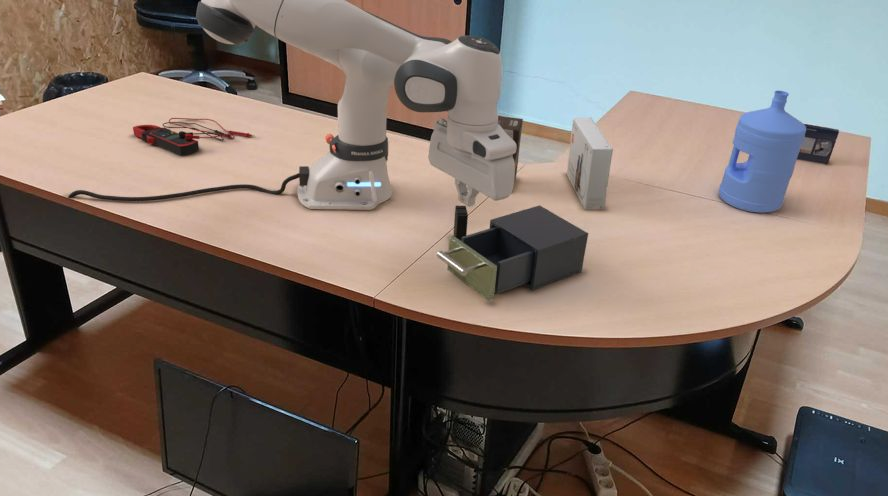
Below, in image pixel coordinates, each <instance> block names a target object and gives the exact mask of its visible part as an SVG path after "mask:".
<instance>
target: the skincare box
mask: <svg viewBox="0 0 888 496" xmlns="http://www.w3.org/2000/svg"><path fill="white" fill-rule="evenodd" d="M613 151H614V148H613V146H612V145H611V144H610V142H609V141H608V140H607V137H606V136H605V135H604V133H603V132H602V130H601V129H600V128H599V127H598V125H597V123H596V122H595V121H594V118H592V117H591V116H590V117H573V118H572V125H571V133H570V141H569V150H568V159H567V166H566V167H567V168H566V176H567V178H568V180H569V181H570V184H571V186H572V187H573V190H574V191H575V194H576V195H577V197H578V199H579V202H580V203H581V205H582V207H583V209H584V210H587V211H589V210H590V211H591V210H592V211H593V210H596V211H597V210H598V211H599V210H600V211H601V210H602V211H603V210H605V207H606V198H607V190H608V186H609V179H610V171H611V164H612V158H613Z"/></svg>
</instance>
